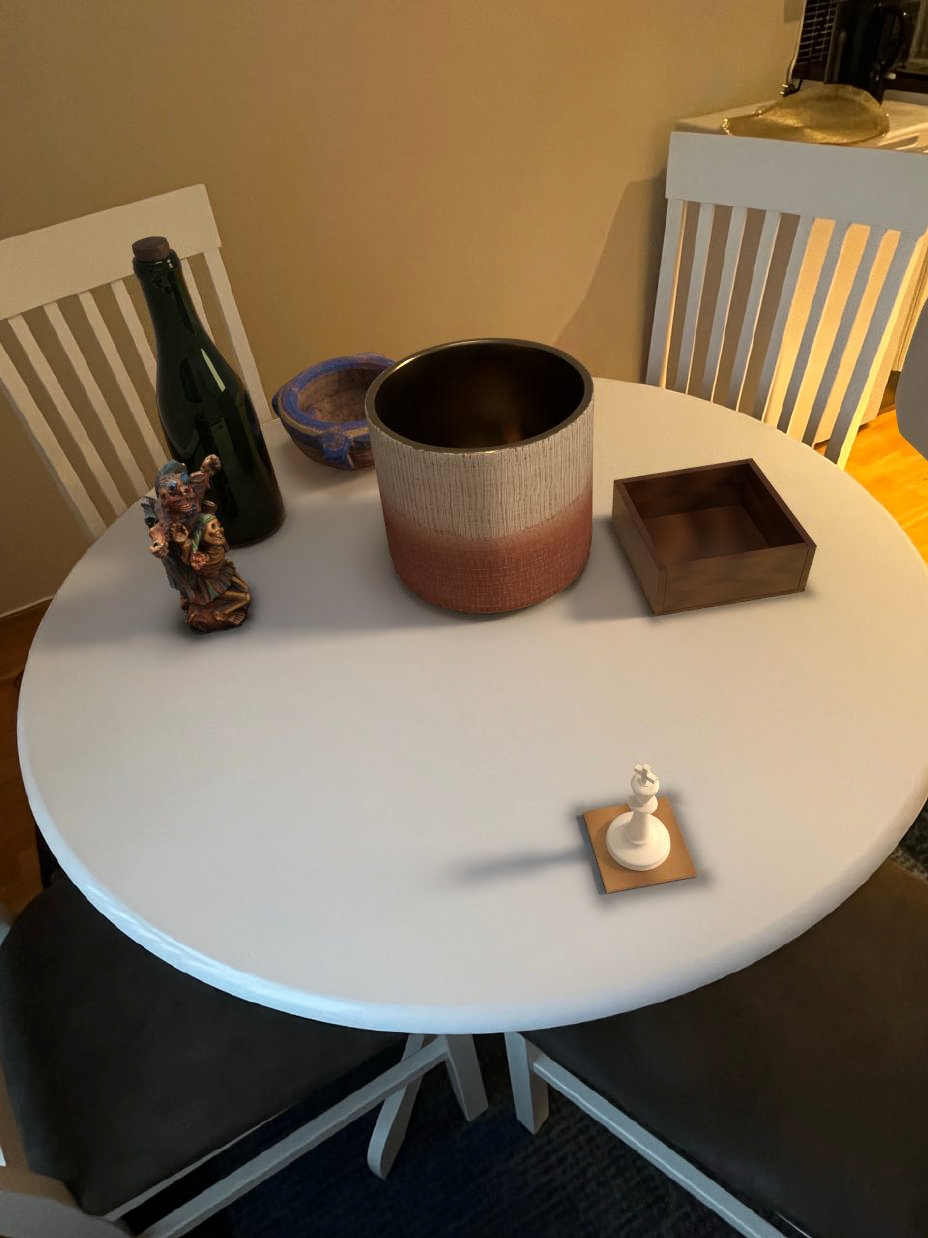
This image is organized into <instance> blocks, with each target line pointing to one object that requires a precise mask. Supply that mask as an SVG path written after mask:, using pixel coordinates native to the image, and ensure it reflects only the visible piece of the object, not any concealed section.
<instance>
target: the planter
mask: <svg viewBox="0 0 928 1238" xmlns="http://www.w3.org/2000/svg"><path fill="white" fill-rule="evenodd" d="M396 361H397V362H396V363H394V364H393V365H391V366H390V367H388V368H387V369H386V370H384V371H383V372H382V373H381V374H380V375H379V376H378V377H377V378H376V379H375V380H374V382H373V383H372V384H371V386H370V388H369V390H368V392H367V395H366V398H365V413H366V419H367V424H368V430H369V435H370V441H371V446H372V452H373V458H374V463H375V466H374V469H375V475H376V480H377V487H378V492H379V498H380V499H379V500H380V505H381V510H382V516H383V523H384V529H385V534H386V540H387V546H388V551H389V556H390V559H391V562H392V565H393V568H394V571H395V572H396V575H397V576H398V578H399V579H400V580H401V582H402V583H403V585H404V586H405V587H407V588H408V590H410V591H411V592H412V593H413V594H415V595H417V597H420V598H421V599H423V600H425V601H427V602H429V603H431V604H434V605H436V606H439V607H441V608H445V609H450V610H453V611H457V612H464V613H474V614H475V613H477V614H478V613H479V614H481V613H482V614H484V613H485V614H490V613H504V612H509V611H510V612H511V611H515V610H519V609H523V608H526V607H527V608H528V607H530V606H533V605H536V604H538V603H540V602H541V603H542V602H543V601H545V600H547V599H549V598H552V597H553V596H555V595H557V594H558V593H560V592H562V591H563V590H564V589H566V588H567V587H568V586H569V585H570V584H571V583H572V582H573V581H575V579H577V577H578V576H579V575H580V574H581V572H582V571H583V569H584V567H585V566H586V564H587V562H588V560H589V557H590V553H591V547H592V540H593V515H594V514H593V513H594V511H593V509H594V507H593V504H594V501H593V500H594V482H593V481H594V429H595V427H594V424H595V423H594V422H595V384H594V380H593V377H592V375H591V373H590V371H589V370H588V369H587V367H586V366H585V365H584V364H583V363H582V362H581V361H580V360H579V359H577V358H576V357H575V356H573V355H571V354H570V353H568V352H566V351H564V350H562V349H559V348H558V347H555V346H553V345H548V344H546V343H543V342H537V341H533V340H527V339H521V338H512V337H478V338H477V337H476V338H475V337H474V338H466V339H460V340H455V341H454V340H453V341H449V342H444V343H440V344H436V345H433V346H429V347H427V348H424V349H421V350H418V351H415V352H412V353H411V354H409V355H407V356H405V357H403V358H401V359H399V360H396Z"/></svg>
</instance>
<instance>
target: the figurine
mask: <svg viewBox="0 0 928 1238" xmlns="http://www.w3.org/2000/svg"><path fill="white" fill-rule="evenodd" d="M200 469H201V471H198V472H195V473H192V474H191V475H190V476H189V477H188V475H187V469H186V465H184V464H183V463H182V464H180V463H178V462H177V461H175V460H174V459H172V458H171V459H170V460H169V461H168V460H166V463H164V464H162V468H159V471H158V473H156V476H155V481H154V492H155V495H156V498H155V497H152V496H149V495H143V496H142V497H141V501H140V507H141V508H143V512H144V518H143V521H144V524H145V525H146V526H147V530H148V537H149V538H150V539H151V541H152V544H151V545H150V546H149V548H148V550H149V551H150V552H151V554H152V555H153V557H154V558H157V559H159V560H160V562H161V564H162V565H163V568H165V573H166V576H167V579H168V583H169V586H170V588H171V589H173V590H176V592H177V591H178V592H179V600H180V604H179V607H180V609H181V611H182V612H183V613H184V617H185V620H184V623H186V624H187V626H188V628H189V629H190V630H191V631H192V632H193V633H194V634H197V635H205V634H208V633H212V632H214V631H226V630H227V631H228V630H231V629H236V628H240V627H242V626H243V623H245V621H246V620H247V618H248V617H247V614H248V611H249V605H250V602H251V600H252V599H253V598H252V595H250V593H251V592H250V589H249V586H248V585H247V582H246V581H245V579H244V578H243V577H242V576H241V574H240V573H239V572H238V571H237V568H236V566H235V564H234V561H233V560H232V559H230V558H226V554H227V553H229V552H230V546H228V544H227V542H226V539H225V537H224V529H223V527H220V523H218V519H217V518H216V515H215V513H216V507H217V506H216V504H214V503H213V502H209V501H205V500H204V501H203V498H204V492H205V490H206V489H207V488H208V489H209V488H210V485H209V477H211V476H213V475H214V474H215V473H216V472H217V470H219V471H220V469H221V461H220V460H219V458H218V457H217V456H215V455H214V454H213V455H210V456H208V457H206V459H205V461H204V462H203V463H202V466H201V468H200ZM202 501H203V502H202Z"/></svg>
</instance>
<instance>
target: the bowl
mask: <svg viewBox="0 0 928 1238" xmlns="http://www.w3.org/2000/svg"><path fill="white" fill-rule="evenodd" d="M397 361H398V360H395V359H392V358H388V357H385V355H384V354H382V353H378V352H375V351H366V352H365V351H364V352H359V353H356V354H349V355H342V356H337V357H332V358H329V359H325V360H322V361H319V362H316V363H315V364H312V365H311V366H309V367H306V368H304V369H303V370H302V371H300V372H299V373H297V374H296V375H295V376H294V377H292V378H291V379H290V380H289V381H287V382H286V383H284V384H283V385H281V387H279V388H278V389H277V390H276V392H275V393H274V395H273V397H272V399H271V407H272V410H273V412H274V414H275V415H276V416H277V417H278V418H279V420H280V423H281V425H282V427H283V428H284V430H285V431H286V433H287V434H288V435H289V437H290V439H291V441H292V442H293V443H294V445H295V446H296V447H297V448H298V450H299V451H300V452H301V453H302V454H303V455H305V456H306V458H308V459H310V460H312V461H313V462H315V463H317V464H318V465H321V466H323V467H325V468H329V469H333V470H337V471H343V472H356V471H360V470H364V469H367V468H368V469H369V468H372V467H375V463H374V458H373V452H372V446H371V441H370V435H369V430H368V424H367V419H366V413H365V398H366V395H367V392H368V390H369V388H370V386H371V384H372V383H373V382H374V380H375V379H376V378H377V377H378V376H379V375H380V374H381V373H382V372H383V371H384V370H386V369H387V368H388V367H390V366H391V365H393V364H394V363H396V362H397Z"/></svg>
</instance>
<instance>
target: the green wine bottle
mask: <svg viewBox="0 0 928 1238" xmlns="http://www.w3.org/2000/svg"><path fill="white" fill-rule="evenodd" d="M131 251H132V253H133V255H134V256H133V257H132V259H131V264H132V271H133V274H134V276H135V278H136V279H137V281H138V284H139V287H140V290H141V293H142V295H143V299H144V302H145V304H146V309H147V311H148V315H149V318H150V321H151V327H152V330H153V335H154V340H155V341H154V342H155V351H156V373H155V403H156V410H157V417H158V420H159V424H160V426H161V429H162V433H163V436H164V439H165V442H166V445H167V448H168V451H169V454H170V456H171V460H172V459H174V460H175V461H177V462H178V463H180V464H182V463H183V464H184V465H186V469H187V475H188V477H189V476H190V475H191V474H192V473H195V472H198V471H201V469H200V468H201V466H202V463H203V462H204V461H205V459H206V457H208V456H210V455H213V454H214V455H215V456H217V457H218V458H219V460H220V461H221V469H220V471H219V470H217V472H216V473H215V474H214V475H213V476H211V477H209V485H210V488H209V489H208V488H207V489H206V490H205V492H204V498H203V501H204V500H205V501H209V502H213V503H214V504H216V506H217V507H216V513H215V515H216V518H217V519H218V523H220V527H223V529H224V537H225V539H226V542H227V544H228V547H242V546H245V545H250V544H253V543H255V542H258V541H261V540H263V539H265V538H267V537H268V536H270V535H271V534H273V533H274V532H275V531H276V530H277V529H278V528H279V526H280V525H281V524H282V523H283V520H284V517H285V514H286V508H285V504H284V498H283V495H282V491H281V489H280V485H279V482H278V479H277V475H276V472H275V469H274V465H273V462H272V459H271V456H270V452H269V449H268V446H267V443H266V441H265V436H264V433H263V430H262V427H261V425H260V421H259V418H258V414H257V412H256V410H255V407H254V404H253V402H252V398H251V396H250V393H249V391H248V389H247V388H246V386H245V384H244V382H243V380H242V378H241V377H240V375H239V373H238V372H237V371H236V369H234V367H233V366H232V365H231V363H230V362H229V361H228V359H227V358H226V357H225V355H224V354H223V353H222V352H221V350H220V349H219V347H218V346H217V345H216V343H215V342H214V341H213V339H212V337H210V335H209V333H208V331H207V330H206V329H205V326H204V324H203V322H202V320H201V317H200V316H199V314H198V311H197V309H196V306H195V304H194V300H193V297H192V295H191V293H190V289H189V287H188V283H187V281H186V277H185V275H184V271H183V265H182V261H181V258H180V256H179V255H178V254H177V252H176V250H175V249H173V248H171V246H170V243H169V241H168V239H167V237H165V236H161V235H153V236H147V237H143V238H140V239H138V240H136V241H135V242H133V243H132V244H131ZM203 501H202V502H203Z"/></svg>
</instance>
